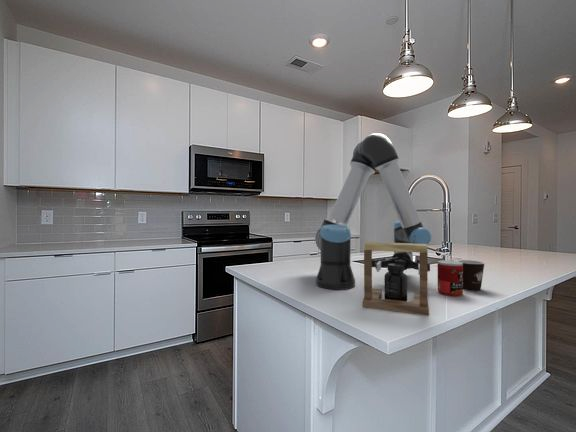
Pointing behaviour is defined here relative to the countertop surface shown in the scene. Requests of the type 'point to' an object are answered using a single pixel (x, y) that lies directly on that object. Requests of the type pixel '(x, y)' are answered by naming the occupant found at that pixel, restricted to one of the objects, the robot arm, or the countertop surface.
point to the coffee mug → (472, 274)
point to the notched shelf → (374, 295)
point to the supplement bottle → (395, 283)
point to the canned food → (450, 278)
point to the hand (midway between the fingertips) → (398, 269)
